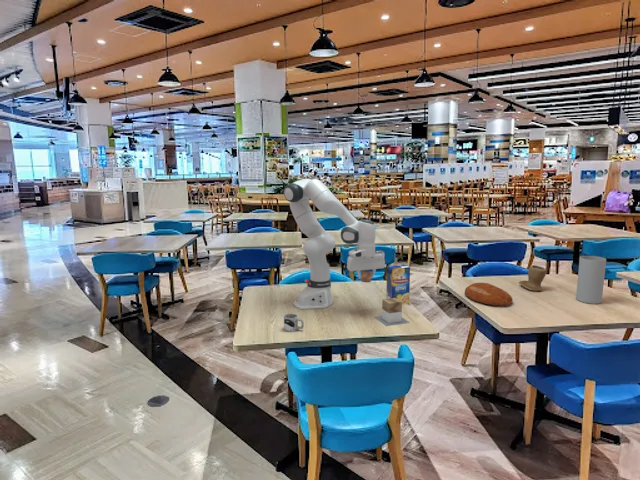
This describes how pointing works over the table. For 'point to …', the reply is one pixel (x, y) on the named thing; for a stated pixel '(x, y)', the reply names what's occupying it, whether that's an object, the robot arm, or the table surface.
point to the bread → (488, 294)
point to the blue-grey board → (391, 323)
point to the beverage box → (398, 283)
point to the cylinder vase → (590, 279)
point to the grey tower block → (391, 316)
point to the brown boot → (534, 278)
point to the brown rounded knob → (366, 276)
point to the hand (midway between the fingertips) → (365, 278)
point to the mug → (292, 322)
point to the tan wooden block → (392, 305)
